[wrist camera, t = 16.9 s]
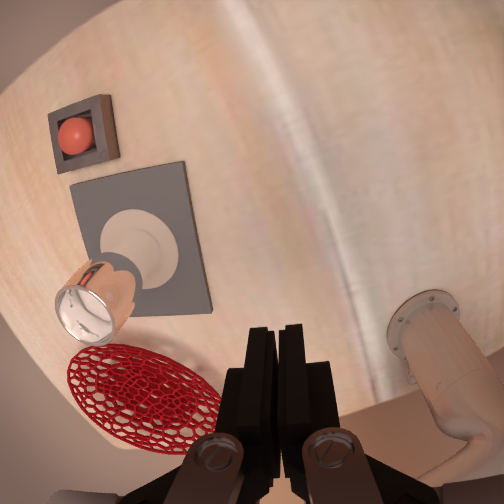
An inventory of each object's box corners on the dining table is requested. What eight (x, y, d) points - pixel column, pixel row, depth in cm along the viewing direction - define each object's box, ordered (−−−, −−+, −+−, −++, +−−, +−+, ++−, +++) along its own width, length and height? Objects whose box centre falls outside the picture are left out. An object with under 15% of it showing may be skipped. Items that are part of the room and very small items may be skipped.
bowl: (62, 379, 52) (52, 395, 48) (114, 291, 43) (100, 309, 38) (178, 449, 59) (174, 467, 54) (268, 392, 49) (267, 415, 45)
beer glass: (125, 279, 40) (72, 348, 27) (108, 231, 38) (41, 287, 24) (171, 271, 40) (129, 347, 26) (155, 220, 37) (98, 278, 23)
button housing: (120, 157, 35) (109, 160, 32) (70, 170, 36) (57, 174, 33) (110, 95, 32) (99, 94, 29) (60, 113, 33) (47, 114, 30)
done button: (102, 147, 34) (90, 149, 31) (74, 155, 34) (61, 158, 31) (96, 112, 32) (84, 113, 29) (68, 122, 32) (55, 123, 30)
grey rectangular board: (213, 309, 43) (211, 314, 42) (112, 313, 44) (109, 318, 43) (184, 160, 35) (181, 162, 34) (73, 184, 37) (68, 186, 36)
